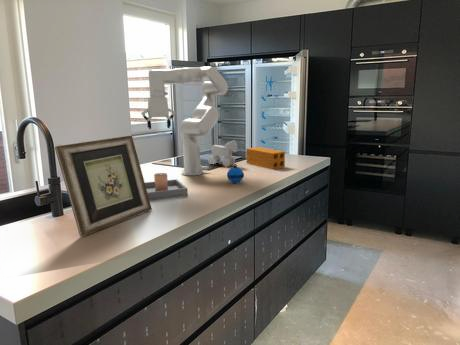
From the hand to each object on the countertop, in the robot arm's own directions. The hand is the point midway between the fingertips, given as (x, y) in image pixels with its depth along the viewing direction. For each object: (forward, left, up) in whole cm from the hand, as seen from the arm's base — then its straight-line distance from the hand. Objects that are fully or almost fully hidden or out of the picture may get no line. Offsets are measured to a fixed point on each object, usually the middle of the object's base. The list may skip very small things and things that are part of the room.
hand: (159, 128), depth 192 cm
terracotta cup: (+5, +23, -27) cm, 36 cm away
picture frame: (+30, +54, -28) cm, 68 cm away
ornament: (-34, +20, -28) cm, 49 cm away
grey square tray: (+5, +23, -28) cm, 37 cm away
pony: (-45, -27, -29) cm, 60 cm away
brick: (-69, -16, -29) cm, 76 cm away
